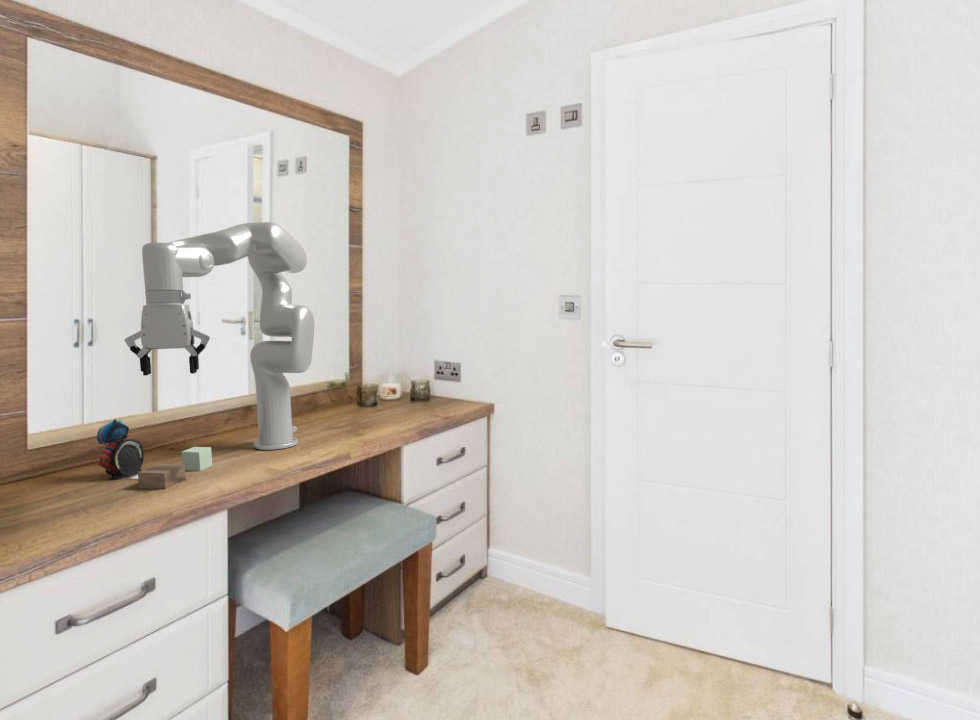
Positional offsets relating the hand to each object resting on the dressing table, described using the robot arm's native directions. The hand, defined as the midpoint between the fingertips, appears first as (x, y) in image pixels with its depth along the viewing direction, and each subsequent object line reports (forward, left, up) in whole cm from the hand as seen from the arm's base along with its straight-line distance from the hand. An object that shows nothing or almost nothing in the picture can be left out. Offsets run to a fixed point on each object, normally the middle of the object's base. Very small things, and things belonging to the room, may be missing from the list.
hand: (170, 373), depth 131 cm
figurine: (-9, -22, -28) cm, 36 cm away
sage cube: (-16, -7, -27) cm, 33 cm away
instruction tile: (-9, -15, -27) cm, 32 cm away
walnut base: (-3, -7, -28) cm, 29 cm away
